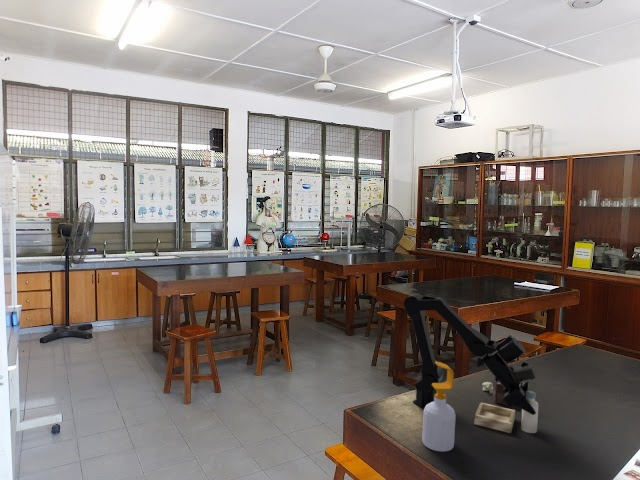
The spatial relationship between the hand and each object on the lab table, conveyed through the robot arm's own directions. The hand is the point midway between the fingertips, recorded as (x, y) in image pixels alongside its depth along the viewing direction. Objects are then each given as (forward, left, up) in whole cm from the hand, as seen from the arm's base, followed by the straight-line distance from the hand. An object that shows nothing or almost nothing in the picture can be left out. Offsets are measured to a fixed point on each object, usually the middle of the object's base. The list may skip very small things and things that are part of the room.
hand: (535, 410), depth 142 cm
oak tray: (-6, +10, -7) cm, 13 cm away
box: (+9, +20, -7) cm, 23 cm away
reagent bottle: (-1, +1, -7) cm, 7 cm away
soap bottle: (-33, +7, -7) cm, 35 cm away
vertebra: (+11, +27, -7) cm, 30 cm away
